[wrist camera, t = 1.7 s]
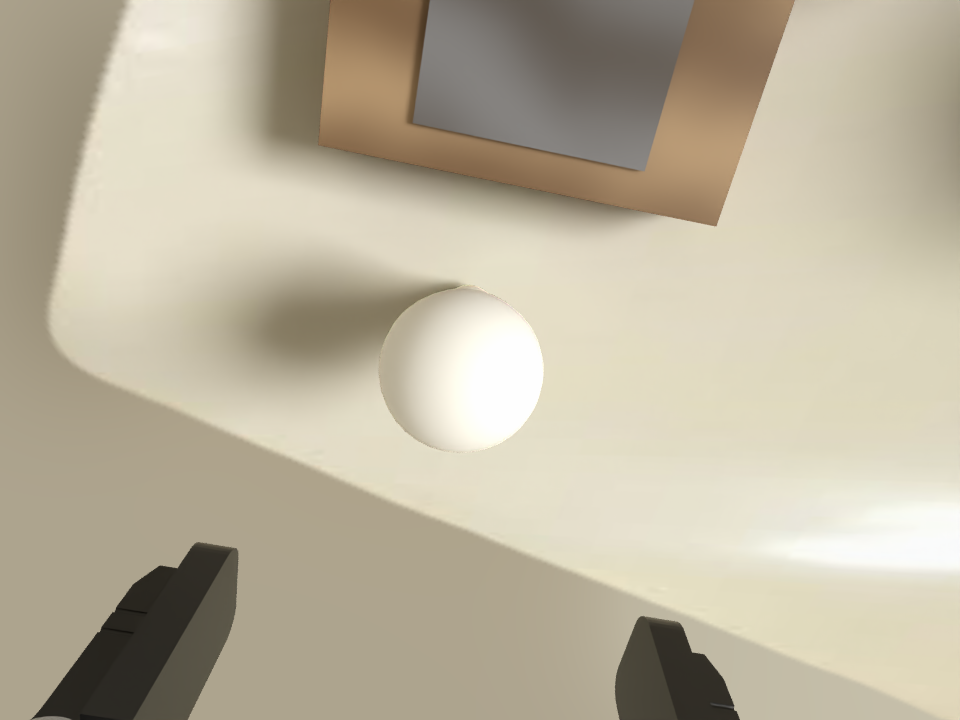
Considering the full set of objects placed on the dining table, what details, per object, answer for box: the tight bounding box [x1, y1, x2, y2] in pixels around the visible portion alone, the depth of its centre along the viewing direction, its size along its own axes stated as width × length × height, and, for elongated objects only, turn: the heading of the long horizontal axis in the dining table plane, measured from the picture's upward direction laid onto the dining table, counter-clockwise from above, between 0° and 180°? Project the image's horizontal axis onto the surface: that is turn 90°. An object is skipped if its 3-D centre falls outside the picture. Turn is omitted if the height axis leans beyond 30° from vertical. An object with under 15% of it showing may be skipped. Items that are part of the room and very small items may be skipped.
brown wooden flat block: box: [318, 0, 795, 226], centre depth 23 cm, size 12×16×4 cm
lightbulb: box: [379, 285, 543, 453], centre depth 25 cm, size 6×6×11 cm
